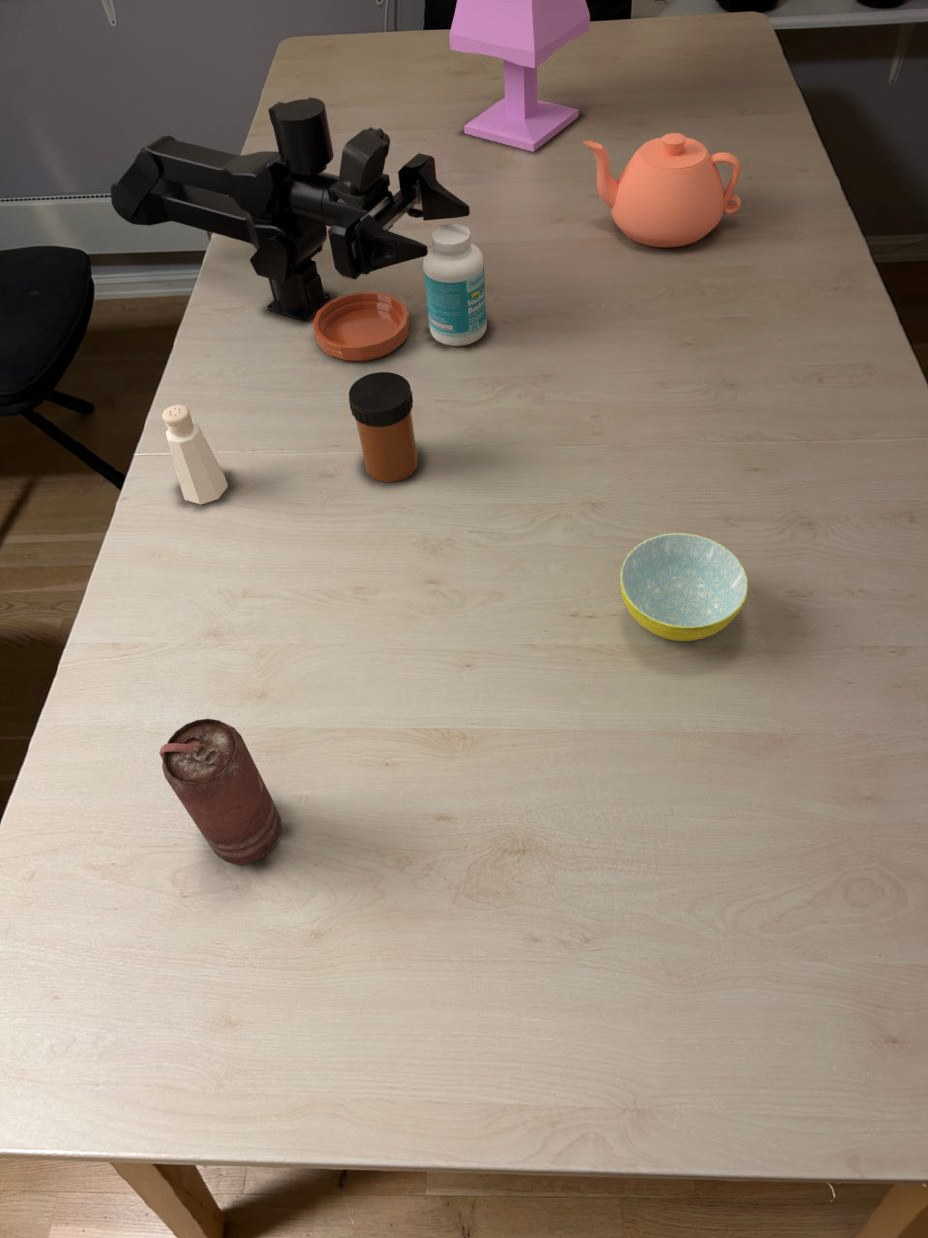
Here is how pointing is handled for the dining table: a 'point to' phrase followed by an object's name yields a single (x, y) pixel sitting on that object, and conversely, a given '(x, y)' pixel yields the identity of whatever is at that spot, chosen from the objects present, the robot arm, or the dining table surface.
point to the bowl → (683, 586)
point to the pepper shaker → (193, 458)
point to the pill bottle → (455, 286)
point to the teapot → (667, 191)
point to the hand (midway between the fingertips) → (448, 230)
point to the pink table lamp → (519, 62)
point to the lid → (380, 399)
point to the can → (221, 790)
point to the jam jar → (389, 450)
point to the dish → (361, 325)
